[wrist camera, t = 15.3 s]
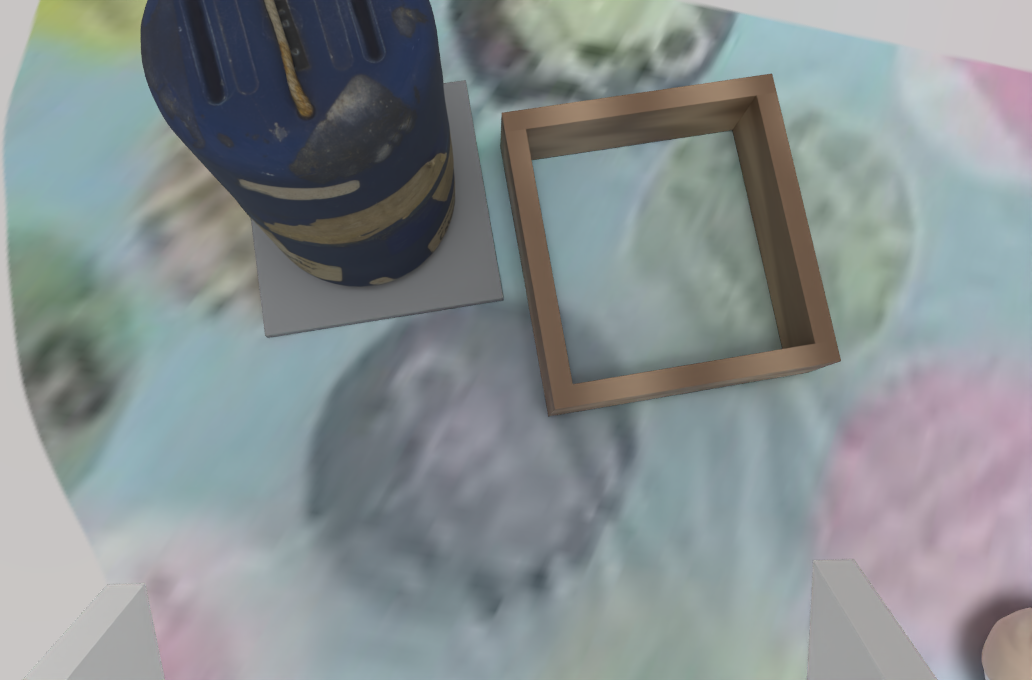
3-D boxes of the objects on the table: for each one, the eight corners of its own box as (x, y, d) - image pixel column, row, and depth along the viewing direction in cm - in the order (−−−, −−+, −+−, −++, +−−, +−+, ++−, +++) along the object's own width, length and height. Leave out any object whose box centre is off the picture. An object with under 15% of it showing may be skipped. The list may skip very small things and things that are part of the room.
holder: (746, 110, 44) (771, 73, 40) (807, 372, 42) (841, 361, 38) (500, 146, 43) (501, 113, 39) (548, 416, 41) (554, 409, 37)
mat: (465, 84, 44) (465, 80, 43) (503, 300, 42) (503, 297, 41) (240, 116, 43) (237, 112, 42) (268, 337, 41) (265, 336, 40)
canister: (455, 116, 43) (433, -142, 25) (460, 292, 41) (441, 148, 24) (271, 120, 42) (116, -140, 25) (269, 298, 41) (102, 157, 23)
